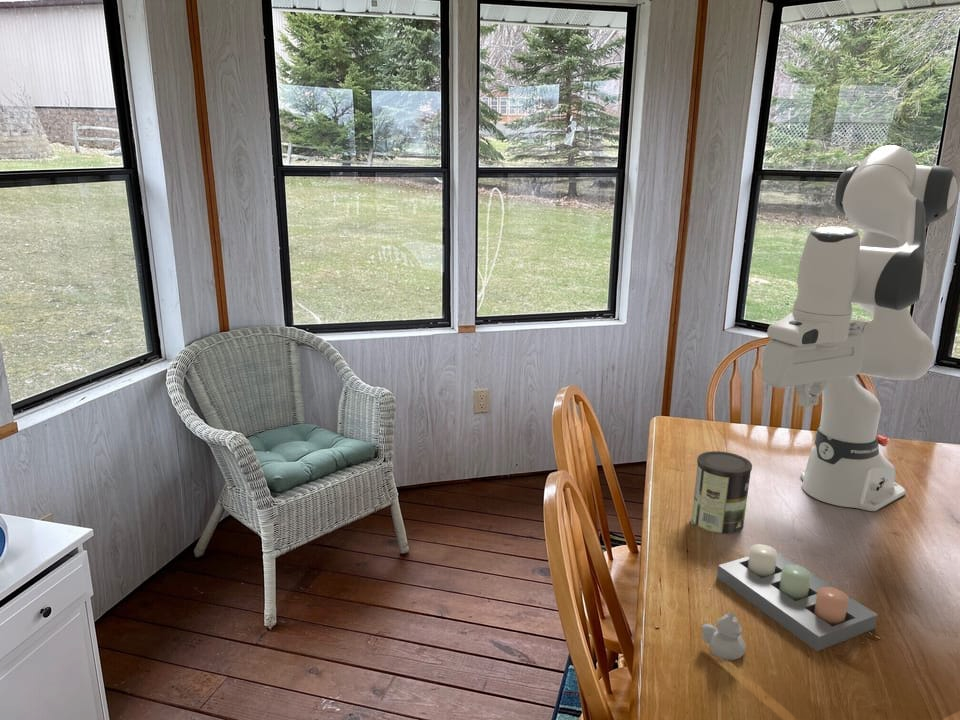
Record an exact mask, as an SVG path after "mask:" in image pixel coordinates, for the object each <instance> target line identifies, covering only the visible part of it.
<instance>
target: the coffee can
mask: <svg viewBox="0 0 960 720" xmlns="http://www.w3.org/2000/svg"><path fill="white" fill-rule="evenodd" d="M696 463H697V465H696V475H695V484H694V485H695V486H694V493H693V503H692V511H691V518H690V523H691V525H694V524H695V525H696V526H697V527H699V528H701V529H702V530H704V531H707V532H710V533H716V534H720V535H721V534H724V535H726V534H727V535H728V534H735V533H738V532H740V531H742V530H743V529H744V526H745V524H744V523H745V519H746V518H745V516H746V509H747V501H748V494H749V488H750V487H749V486H750V479H751V473H752V469H753V464H752V462H751V461H750V460H749V459H747V458H746V457H744V456H742V455H738V454H736V453H732V452H727V451H718V450H717V451H706V452H702V453H700V454H699V455H698V456H697V459H696Z"/></svg>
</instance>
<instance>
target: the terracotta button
mask: <svg viewBox="0 0 960 720" xmlns="http://www.w3.org/2000/svg"><path fill="white" fill-rule="evenodd" d="M848 596H849V595H848V594H847V593H845V592H844V591H842V590H841V589H838V588H836V587H835V588H832V587H821V588H819V589H818V592H817V597H816V603H815V609H814V614H815V615H816V616H818V617H819V618H821V619H822V620H823V621H825V622H826V623H828V624H829V625H831V626H832V627H833V626H835V625H838V624H841V623H843V622H845V616H846V611H847V606H848V600H849V598H848Z"/></svg>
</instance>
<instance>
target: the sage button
mask: <svg viewBox="0 0 960 720" xmlns="http://www.w3.org/2000/svg"><path fill="white" fill-rule="evenodd" d="M798 565H799V564H798ZM798 565H792V564H790V565H785V566H783V568H782V573H781V580H780V586H779V590H780V591H781V592H783V593H784V594H785V595H787V596H788V597H790V598H791V599H793V600H794V601H797V600H800V599H803V598H806V597H808V592H809V586H810V580H811V573H812V572H811V571H809V569H807V568H806V567H804V566H802V565H800V566H798ZM810 572H811V573H810Z"/></svg>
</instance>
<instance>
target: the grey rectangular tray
mask: <svg viewBox="0 0 960 720" xmlns="http://www.w3.org/2000/svg"><path fill="white" fill-rule="evenodd" d="M748 561H749V555H748V556H745V557H741V558H738V559H735V560H732V561H727V562H725V563H721V564H718V566H717V575H716V579H718V580H719V581H720V582H722V583H723V584H725V586H727V587H728V588H730V589H732V591H733V592H735V593H737V595H739V596H741V597H742V598H744V599H745V600H746V601H748V602H749V603H750V604H751V605H752V606H754V607H755V608H757V609H758V610H760V611H761V612H762V613H764V614H765V615H766V616H768V617H769V618H770V619H772V620H773V621H774V622H776V623H777V624H779V625H780V626H782V627H783V628H785V630H787V631H788V632H790V633H791V634H793V635H794V636H795V637H796V638H798V639H799V640H800V641H802V642H803V643H804V644H806V645H807V646H809V647H810V648H812V649H813V650H814V651H815V652H819V651H821V650H824V649H826V648H829V647H832V646H834V645H836V644H837V645H838V644H839V643H842V642H844V641H846V640H849V639H852V638H854V637H857V636H860V635H862V634H865V633H867V632H870V631H872V630H875V629H876V625H877V620H878V616H879V614H877V613H876V612H875V611H873V610H871V609H870V608H868V607H867V606H865V605H863V604H862V603H860V602H858V601H857V600H855V599H854V598H852V597H851V596H849V595H847V596H848V598H849V600H848V606H847V611H846V616H845V622H843V623H841V624H838V625H835V626H833V627H832V626H831V625H829V624H828V623H826V622H825V621H823V620H822V619H821V618H819V617H818V616H816V615H815V614H814V609H815V603H816V597H817V592H818V589H819V588H821V587H832V588H836V587H835V586H833V585H831V584H830V583H828V582H827V581H825V580H824V579H822V578H820V577H818V576H817V575H816V574H814V573H812V572H811V571H809V572H810V573H811V580H810V586H809V592H808V597H806V598H803V599H800V600H797V601H794V600H793V599H791V598H790V597H788V596H787V595H785V594H784V593H783V592H781V591H780V590H779V586H780V580H781V573H782V568H783V566H785V565H790V564H792V565H798V566H801V565H800V564H798V563H796V562H795V561H793V560H792V559H790V558H788V557H787V556H785V555H783V554H782V553H780V552H779V551H777V560H776V567H775V573H774V575H771V576H768V577H765V578H761V577H759V576H758V575H756V574H755V573H753V572H752V571H750V570H749V569H748Z"/></svg>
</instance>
